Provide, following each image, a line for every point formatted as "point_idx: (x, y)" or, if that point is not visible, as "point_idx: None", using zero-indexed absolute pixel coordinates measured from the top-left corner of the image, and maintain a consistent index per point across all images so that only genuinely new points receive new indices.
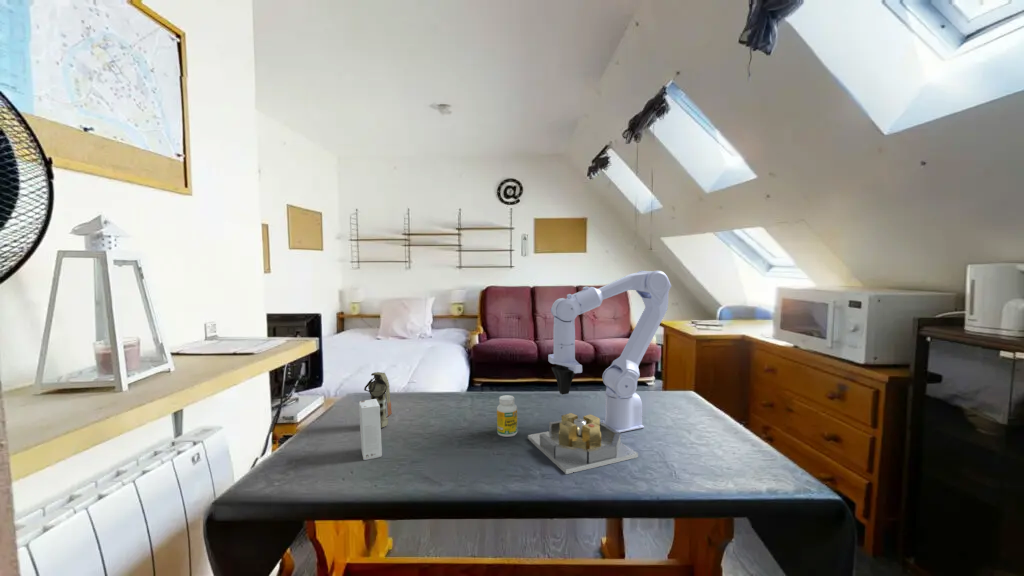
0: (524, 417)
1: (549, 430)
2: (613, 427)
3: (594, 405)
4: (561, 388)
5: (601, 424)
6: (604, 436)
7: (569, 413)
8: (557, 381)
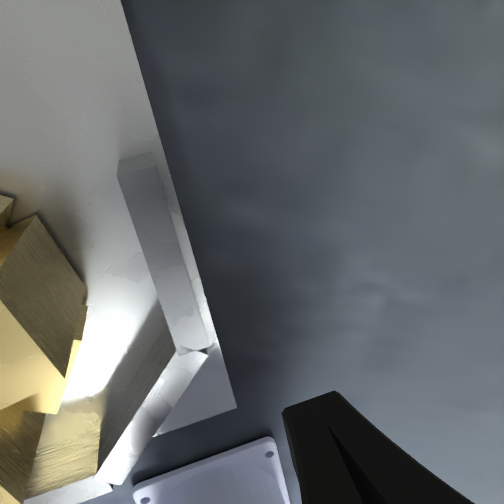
0: (475, 52)
1: (150, 154)
2: (177, 490)
3: (465, 443)
4: (299, 468)
5: (79, 484)
6: (51, 444)
7: (49, 362)
8: (429, 500)
